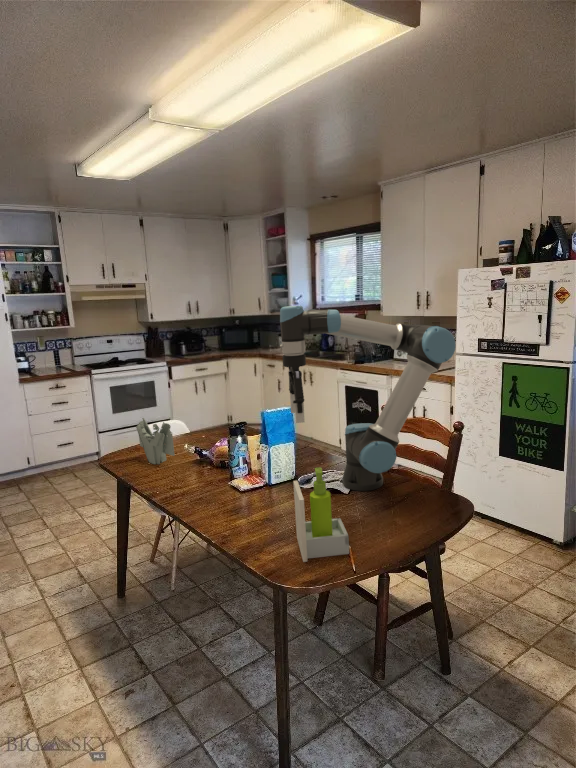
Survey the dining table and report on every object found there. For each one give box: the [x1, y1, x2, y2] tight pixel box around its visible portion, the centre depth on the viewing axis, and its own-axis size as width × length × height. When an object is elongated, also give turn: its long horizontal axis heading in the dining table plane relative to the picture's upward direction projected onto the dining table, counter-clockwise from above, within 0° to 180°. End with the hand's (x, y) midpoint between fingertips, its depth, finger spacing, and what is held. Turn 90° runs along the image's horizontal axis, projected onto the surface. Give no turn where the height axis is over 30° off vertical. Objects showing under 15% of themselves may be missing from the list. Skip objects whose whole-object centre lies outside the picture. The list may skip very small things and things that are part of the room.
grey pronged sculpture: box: [135, 417, 175, 465], centre depth 224 cm, size 28×7×20 cm, turn 49°
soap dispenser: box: [309, 466, 333, 538], centre depth 139 cm, size 6×7×20 cm
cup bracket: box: [292, 480, 350, 563], centre depth 139 cm, size 13×14×18 cm
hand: (297, 417), depth 163 cm, fingers open, 13 cm apart
